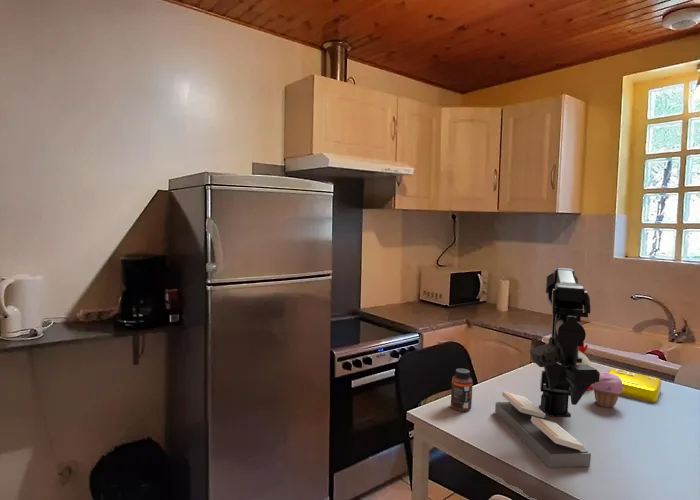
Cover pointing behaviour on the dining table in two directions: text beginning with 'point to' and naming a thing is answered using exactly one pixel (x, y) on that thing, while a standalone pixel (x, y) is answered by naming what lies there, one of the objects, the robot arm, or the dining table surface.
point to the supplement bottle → (461, 390)
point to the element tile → (638, 385)
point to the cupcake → (607, 389)
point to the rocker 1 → (523, 404)
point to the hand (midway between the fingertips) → (562, 396)
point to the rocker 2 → (557, 433)
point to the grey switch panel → (541, 439)
